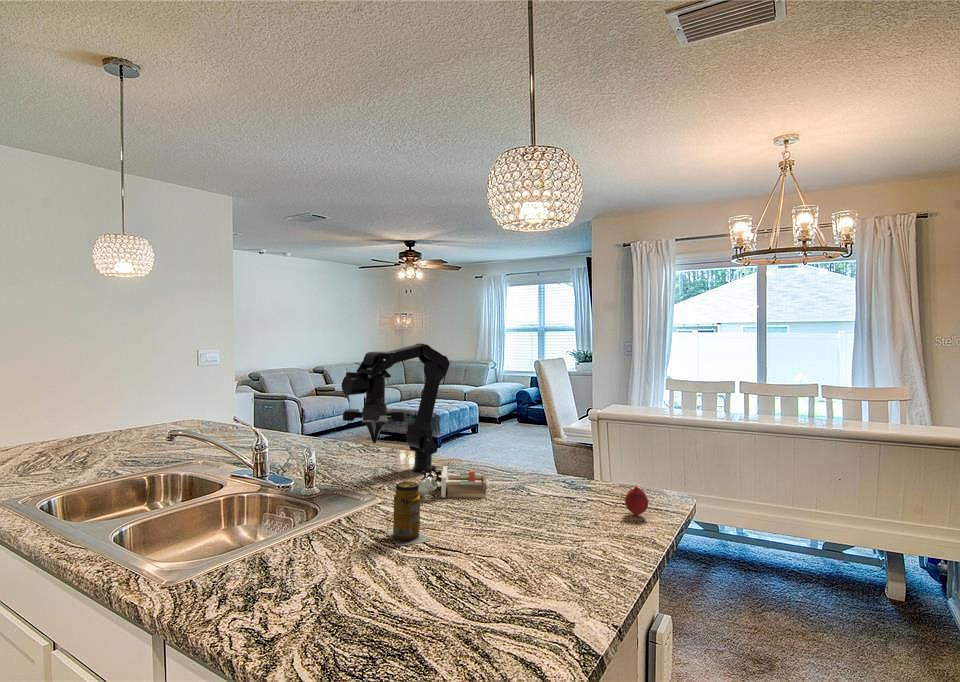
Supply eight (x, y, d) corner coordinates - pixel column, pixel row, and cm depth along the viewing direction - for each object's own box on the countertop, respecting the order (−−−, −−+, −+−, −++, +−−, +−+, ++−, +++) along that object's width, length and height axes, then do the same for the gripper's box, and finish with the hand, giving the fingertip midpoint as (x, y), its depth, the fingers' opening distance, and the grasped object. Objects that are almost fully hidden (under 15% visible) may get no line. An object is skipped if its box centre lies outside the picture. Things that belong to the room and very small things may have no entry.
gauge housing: (448, 486, 156) (448, 473, 156) (484, 486, 156) (484, 473, 156) (447, 497, 146) (447, 483, 146) (485, 497, 146) (486, 483, 146)
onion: (651, 515, 134) (652, 485, 134) (641, 521, 130) (642, 490, 130) (630, 510, 138) (631, 480, 138) (620, 515, 134) (621, 485, 134)
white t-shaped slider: (443, 484, 157) (443, 465, 156) (481, 484, 157) (481, 465, 157) (441, 497, 145) (441, 476, 144) (482, 497, 145) (482, 477, 145)
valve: (416, 505, 143) (426, 489, 155) (436, 496, 142) (446, 481, 154) (406, 484, 143) (417, 469, 155) (426, 475, 142) (436, 461, 154)
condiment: (416, 528, 123) (416, 478, 123) (428, 541, 115) (429, 488, 115) (386, 533, 120) (387, 482, 119) (396, 547, 112) (397, 492, 112)
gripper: (338, 395, 150) (337, 448, 150) (402, 396, 151) (401, 449, 151) (347, 391, 161) (346, 440, 162) (406, 392, 162) (406, 441, 162)
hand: (374, 443), depth 159 cm, fingers closed
